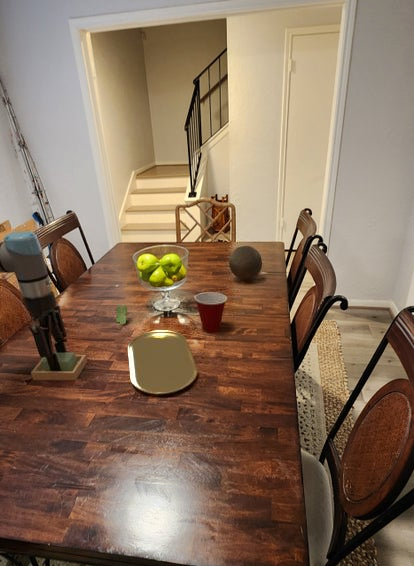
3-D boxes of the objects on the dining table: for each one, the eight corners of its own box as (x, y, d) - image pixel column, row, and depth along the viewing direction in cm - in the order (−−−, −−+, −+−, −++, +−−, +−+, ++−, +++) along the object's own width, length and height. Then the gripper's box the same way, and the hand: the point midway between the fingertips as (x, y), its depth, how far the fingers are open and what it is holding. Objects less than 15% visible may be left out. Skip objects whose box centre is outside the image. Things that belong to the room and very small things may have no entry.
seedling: (130, 331, 139) (116, 328, 133) (125, 313, 141) (111, 309, 136) (143, 321, 135) (129, 318, 130) (137, 303, 138) (124, 299, 133)
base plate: (33, 380, 106) (30, 372, 104) (48, 361, 114) (45, 354, 113) (75, 380, 105) (73, 372, 103) (87, 361, 113) (85, 354, 111)
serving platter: (182, 330, 127) (181, 326, 126) (204, 390, 98) (204, 386, 97) (127, 338, 124) (126, 334, 123) (132, 403, 95) (132, 398, 94)
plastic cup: (234, 329, 126) (234, 297, 120) (208, 339, 121) (206, 306, 115) (215, 318, 134) (214, 287, 128) (190, 327, 129) (188, 295, 123)
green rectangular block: (44, 373, 107) (40, 361, 105) (51, 363, 111) (48, 352, 109) (71, 373, 106) (67, 361, 104) (77, 363, 111) (74, 352, 108)
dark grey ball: (234, 273, 173) (234, 241, 165) (264, 276, 169) (265, 243, 161) (225, 284, 162) (224, 250, 154) (257, 287, 158) (258, 252, 150)
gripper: (35, 308, 89) (60, 386, 101) (65, 280, 104) (84, 351, 116) (6, 308, 89) (34, 386, 101) (40, 281, 104) (61, 351, 117)
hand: (60, 367), depth 109 cm, fingers closed on green rectangular block, 5 cm apart
